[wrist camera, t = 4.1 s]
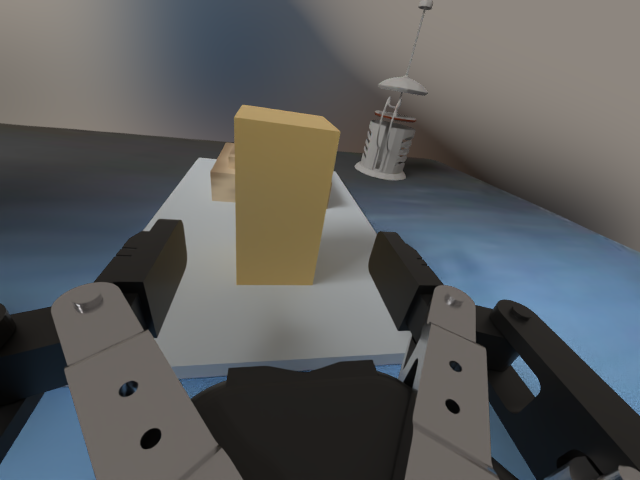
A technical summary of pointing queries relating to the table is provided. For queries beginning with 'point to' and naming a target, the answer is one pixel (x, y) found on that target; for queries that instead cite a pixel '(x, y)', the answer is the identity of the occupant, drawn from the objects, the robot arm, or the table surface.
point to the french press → (391, 128)
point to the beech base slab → (227, 176)
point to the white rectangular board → (272, 294)
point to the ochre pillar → (280, 193)
